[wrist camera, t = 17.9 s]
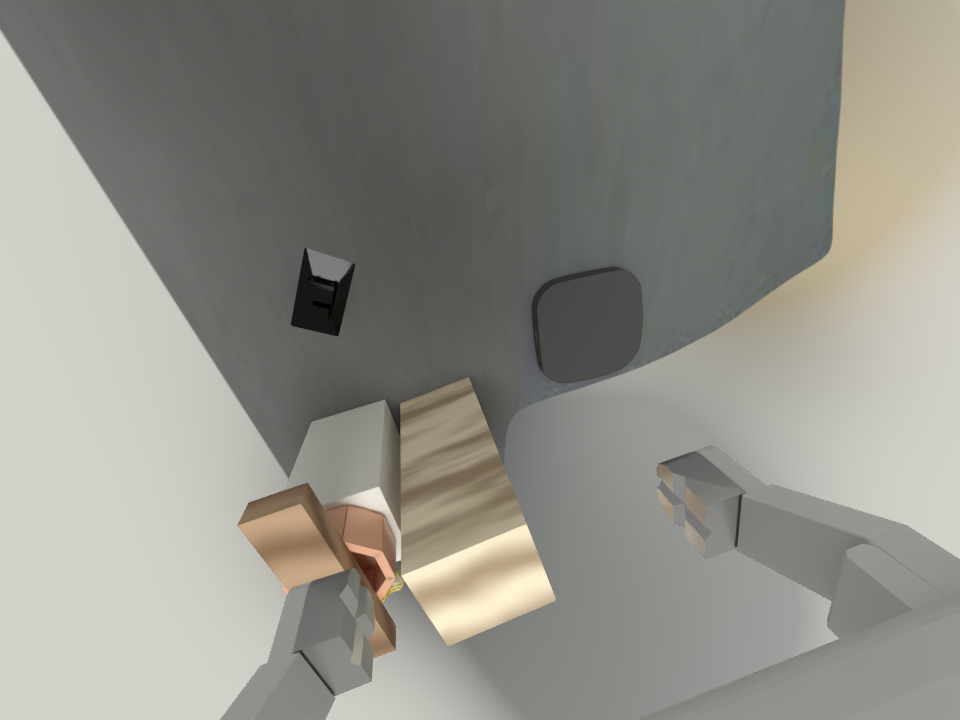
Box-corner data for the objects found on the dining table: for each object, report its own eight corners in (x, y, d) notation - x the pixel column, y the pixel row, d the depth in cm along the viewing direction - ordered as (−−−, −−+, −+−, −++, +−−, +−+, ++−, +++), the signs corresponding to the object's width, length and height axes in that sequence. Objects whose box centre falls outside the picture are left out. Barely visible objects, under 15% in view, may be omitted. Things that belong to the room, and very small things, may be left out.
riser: (311, 421, 50) (272, 520, 34) (385, 399, 51) (379, 486, 35) (340, 477, 54) (317, 588, 39) (408, 456, 55) (411, 556, 39)
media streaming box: (632, 261, 50) (645, 264, 47) (631, 359, 56) (642, 367, 54) (527, 283, 49) (535, 288, 46) (538, 381, 55) (545, 391, 52)
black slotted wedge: (342, 348, 47) (337, 362, 43) (280, 333, 45) (268, 347, 41) (366, 252, 44) (362, 257, 39) (298, 230, 41) (287, 234, 37)
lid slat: (248, 502, 28) (237, 525, 26) (307, 482, 28) (300, 503, 26) (350, 642, 36) (347, 668, 34) (395, 625, 36) (395, 649, 34)
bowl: (282, 523, 35) (266, 566, 31) (375, 493, 35) (371, 531, 31) (320, 582, 38) (311, 628, 34) (404, 554, 39) (404, 595, 35)
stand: (400, 403, 51) (401, 575, 28) (468, 376, 52) (526, 524, 28) (427, 457, 56) (448, 646, 32) (490, 432, 56) (556, 600, 32)
